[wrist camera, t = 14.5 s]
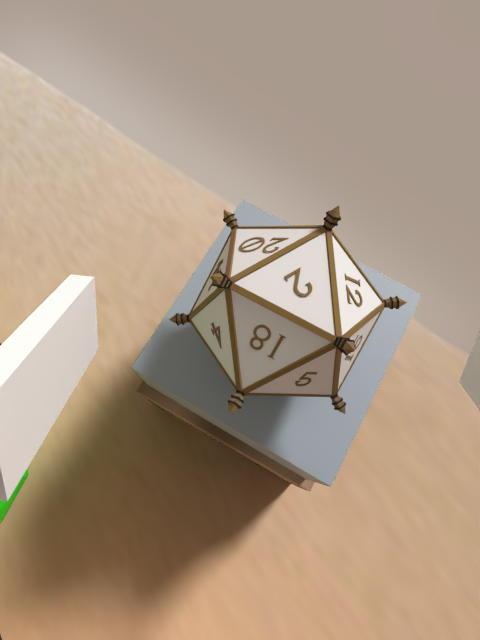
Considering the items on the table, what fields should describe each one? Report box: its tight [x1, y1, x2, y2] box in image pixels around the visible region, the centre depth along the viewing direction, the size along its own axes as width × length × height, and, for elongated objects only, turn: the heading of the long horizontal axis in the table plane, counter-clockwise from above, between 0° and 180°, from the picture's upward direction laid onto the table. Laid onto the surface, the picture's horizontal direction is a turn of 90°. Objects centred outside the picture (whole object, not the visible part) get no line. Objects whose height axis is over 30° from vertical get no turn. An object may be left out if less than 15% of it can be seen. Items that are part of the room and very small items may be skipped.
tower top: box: [131, 200, 422, 487], centre depth 25 cm, size 11×11×6 cm
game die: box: [169, 206, 407, 414], centre depth 19 cm, size 9×8×10 cm
